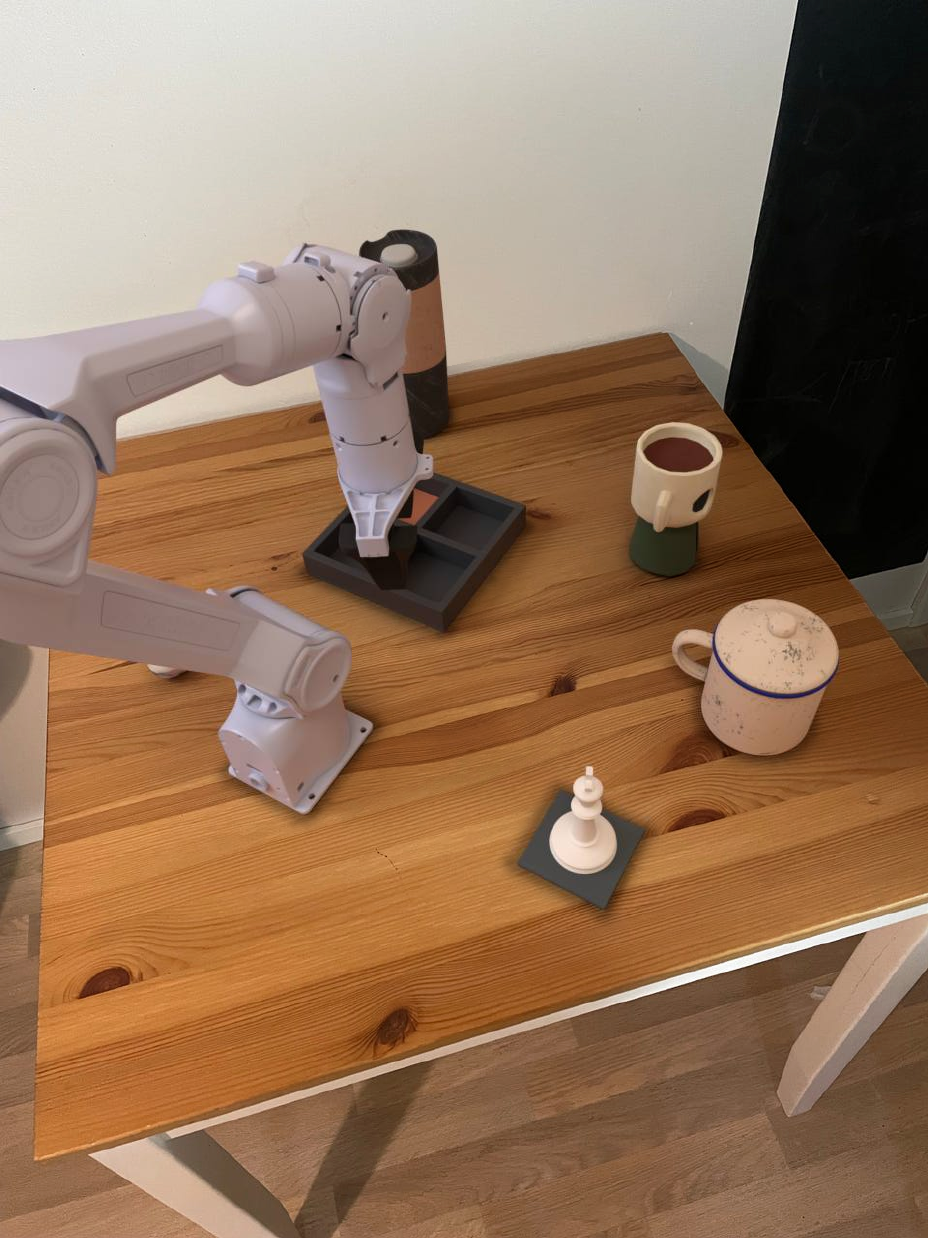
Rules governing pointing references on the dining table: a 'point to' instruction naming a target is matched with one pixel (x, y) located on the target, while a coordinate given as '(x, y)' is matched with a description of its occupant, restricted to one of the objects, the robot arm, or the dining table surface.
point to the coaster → (584, 886)
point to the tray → (430, 550)
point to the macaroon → (164, 671)
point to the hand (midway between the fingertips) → (396, 549)
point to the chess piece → (584, 830)
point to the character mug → (672, 494)
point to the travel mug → (419, 325)
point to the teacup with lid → (762, 674)
